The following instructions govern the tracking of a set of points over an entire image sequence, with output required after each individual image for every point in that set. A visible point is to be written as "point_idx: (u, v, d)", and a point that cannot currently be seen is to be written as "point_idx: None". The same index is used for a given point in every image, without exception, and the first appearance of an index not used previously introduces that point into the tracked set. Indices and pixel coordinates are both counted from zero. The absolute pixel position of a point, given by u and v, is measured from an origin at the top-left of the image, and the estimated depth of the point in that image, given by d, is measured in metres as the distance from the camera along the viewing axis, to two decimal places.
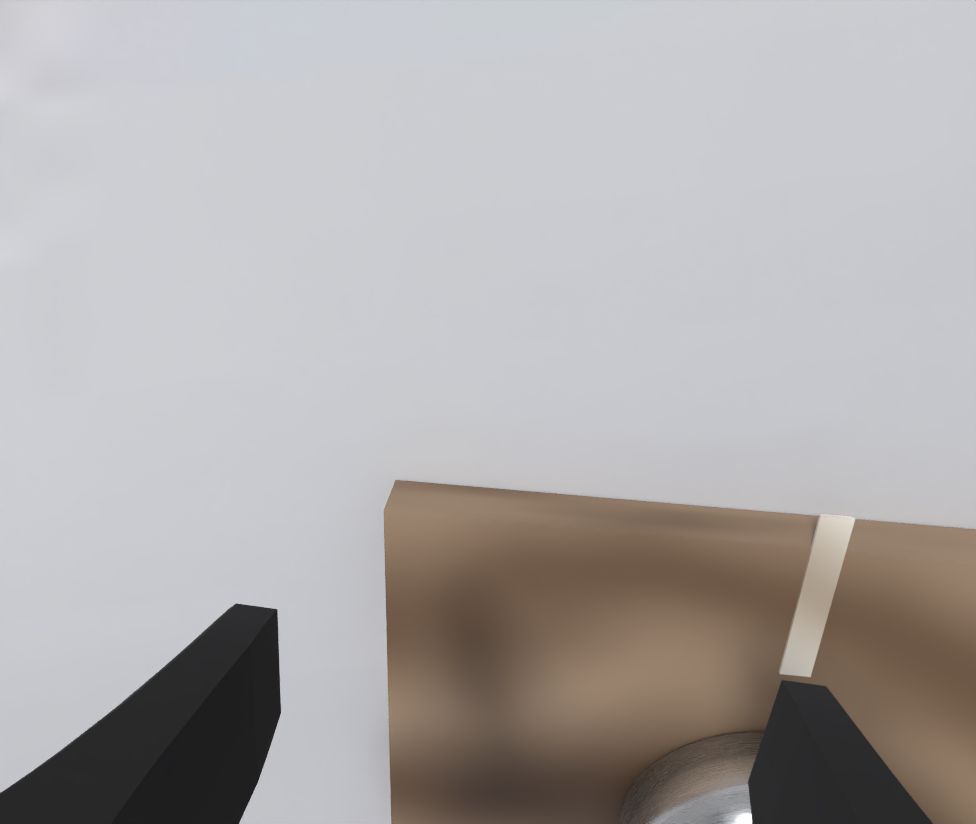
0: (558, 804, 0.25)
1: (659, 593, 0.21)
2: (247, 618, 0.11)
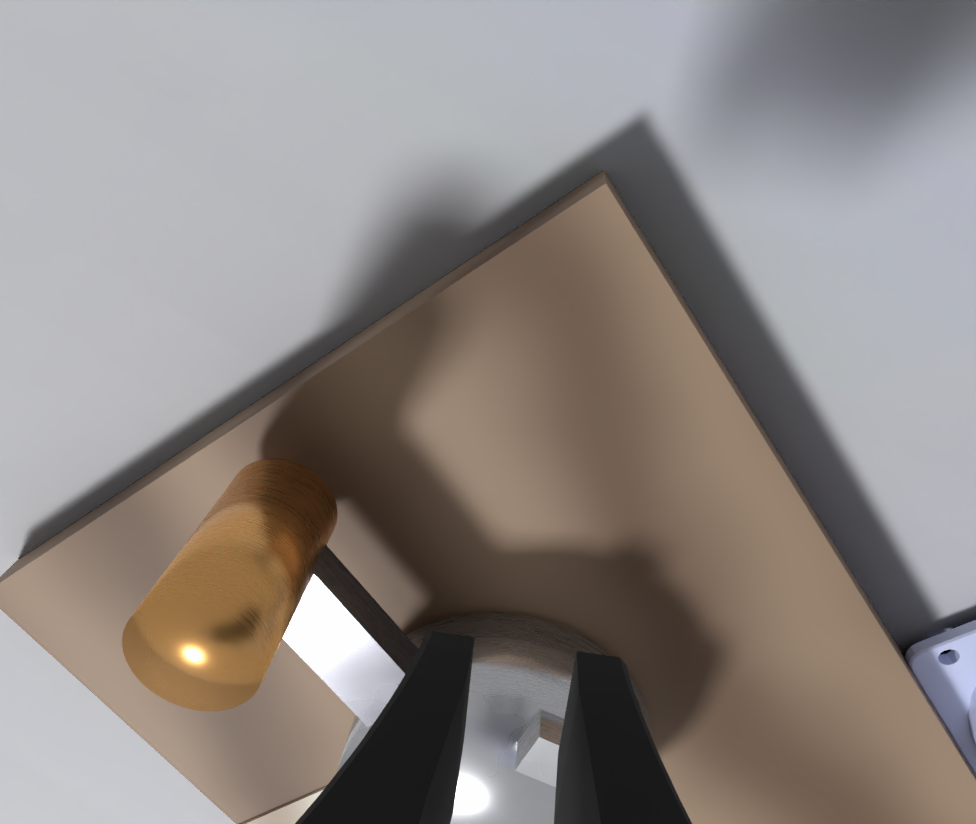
0: None
1: None
2: (451, 647, 0.11)
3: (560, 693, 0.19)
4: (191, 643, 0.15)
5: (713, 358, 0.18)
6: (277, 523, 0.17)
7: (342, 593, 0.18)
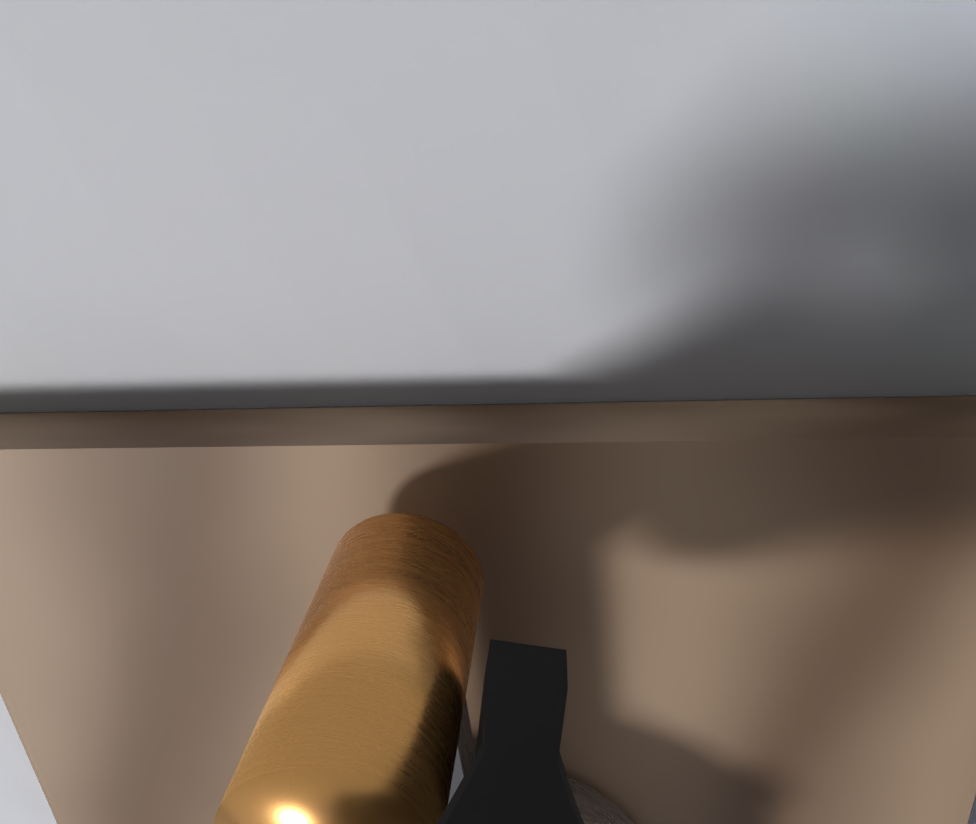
0: None
1: None
2: (546, 660, 0.11)
3: None
4: None
5: None
6: (456, 646, 0.11)
7: (460, 738, 0.13)
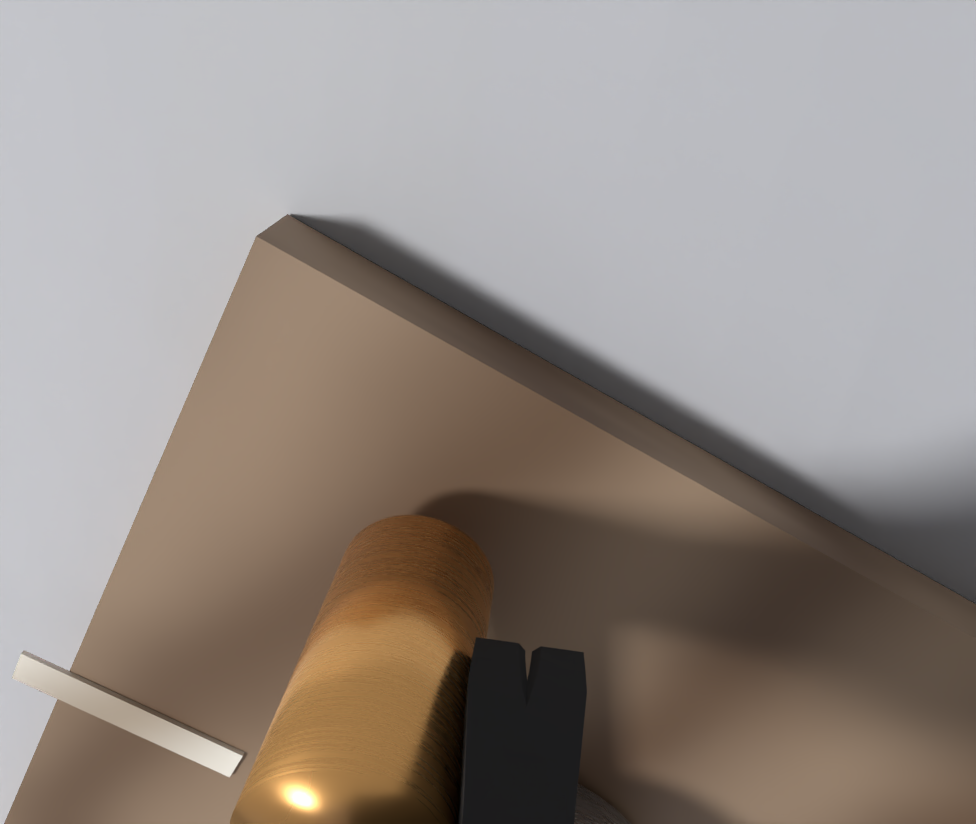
0: None
1: (93, 818, 0.19)
2: (564, 662, 0.11)
3: None
4: None
5: None
6: (470, 650, 0.11)
7: None
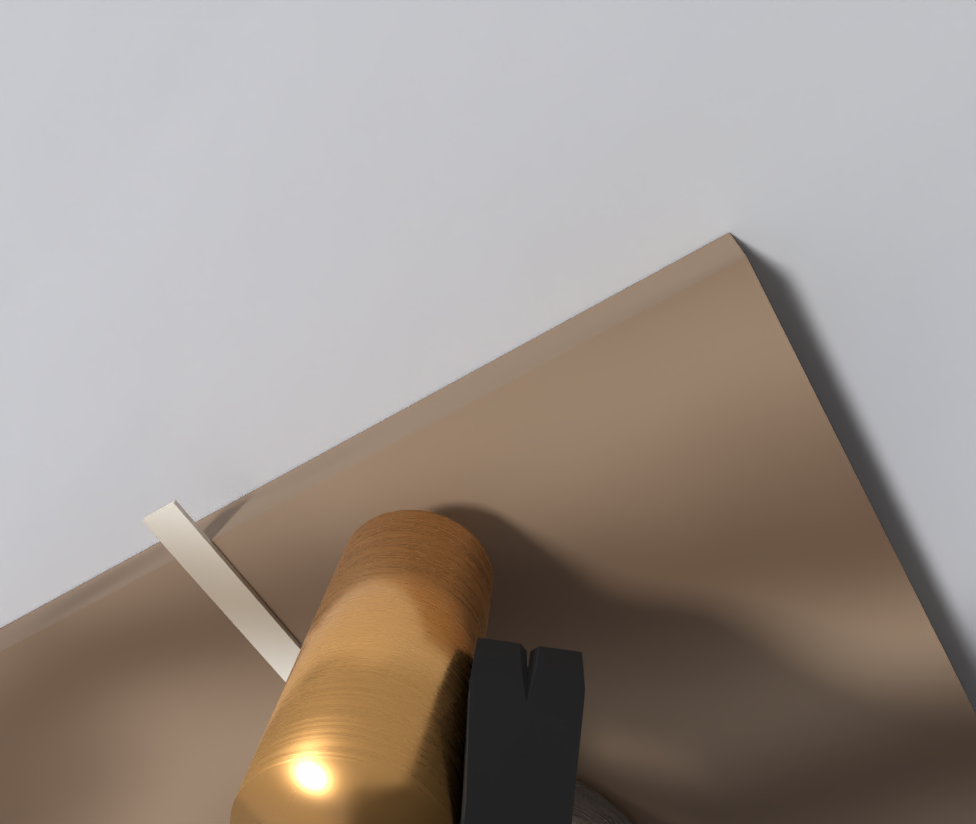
0: None
1: (115, 683, 0.17)
2: (561, 663, 0.11)
3: None
4: None
5: None
6: (470, 642, 0.12)
7: None
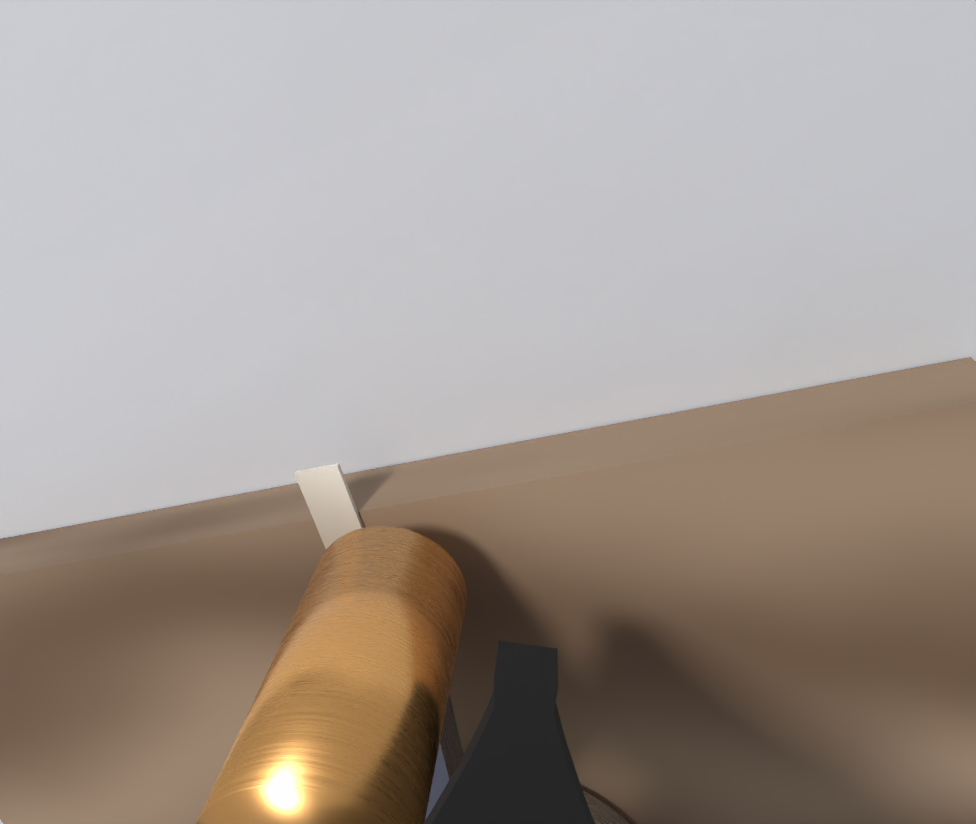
0: None
1: (186, 622, 0.16)
2: (536, 659, 0.11)
3: None
4: None
5: None
6: (435, 658, 0.12)
7: (447, 749, 0.13)
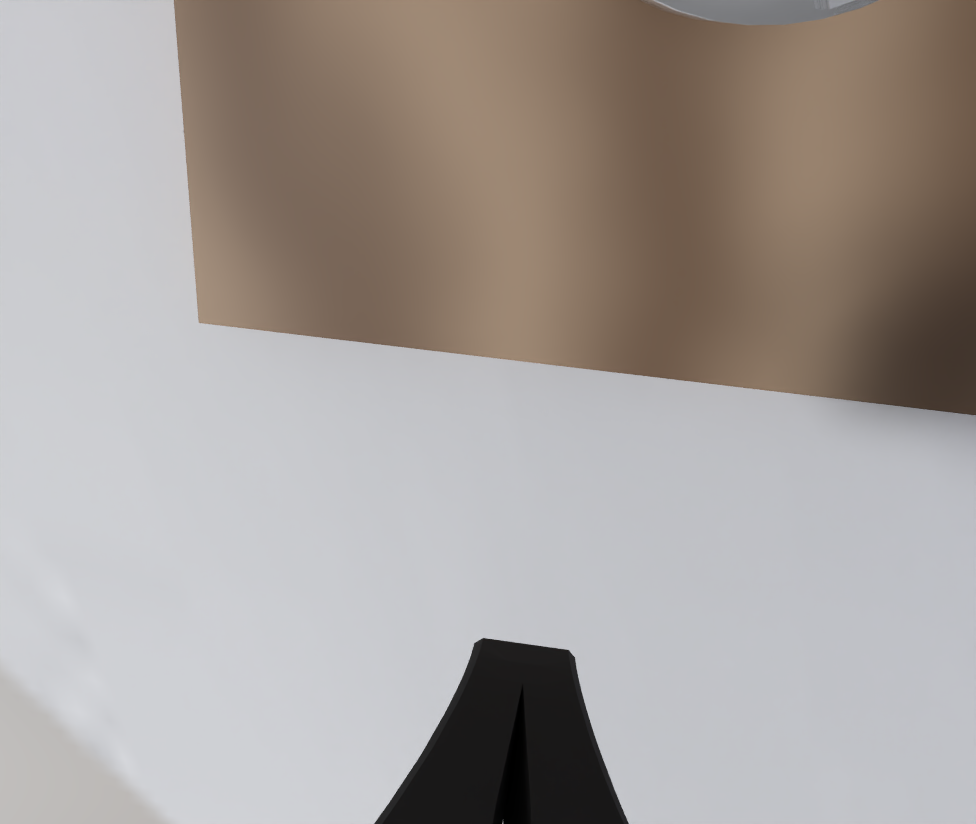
0: (697, 127, 0.16)
1: None
2: (503, 654, 0.11)
3: None
4: None
5: None
6: None
7: None
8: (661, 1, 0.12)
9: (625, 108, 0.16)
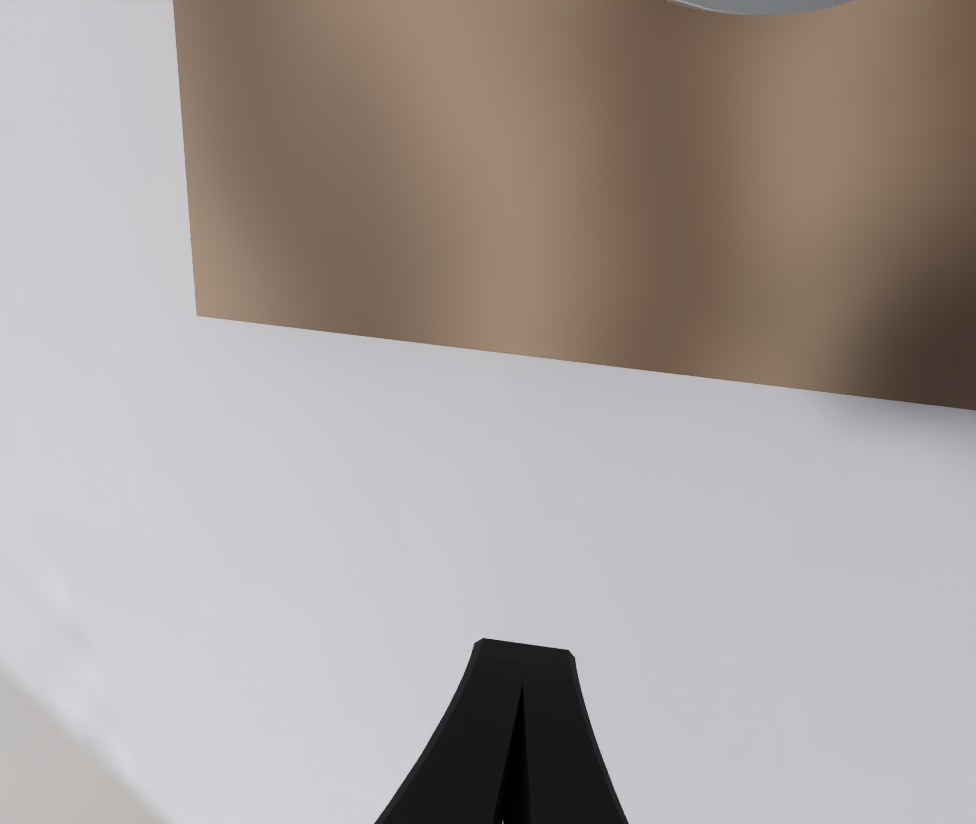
0: (698, 119, 0.15)
1: None
2: (503, 654, 0.11)
3: None
4: None
5: None
6: None
7: None
8: None
9: (625, 100, 0.15)
